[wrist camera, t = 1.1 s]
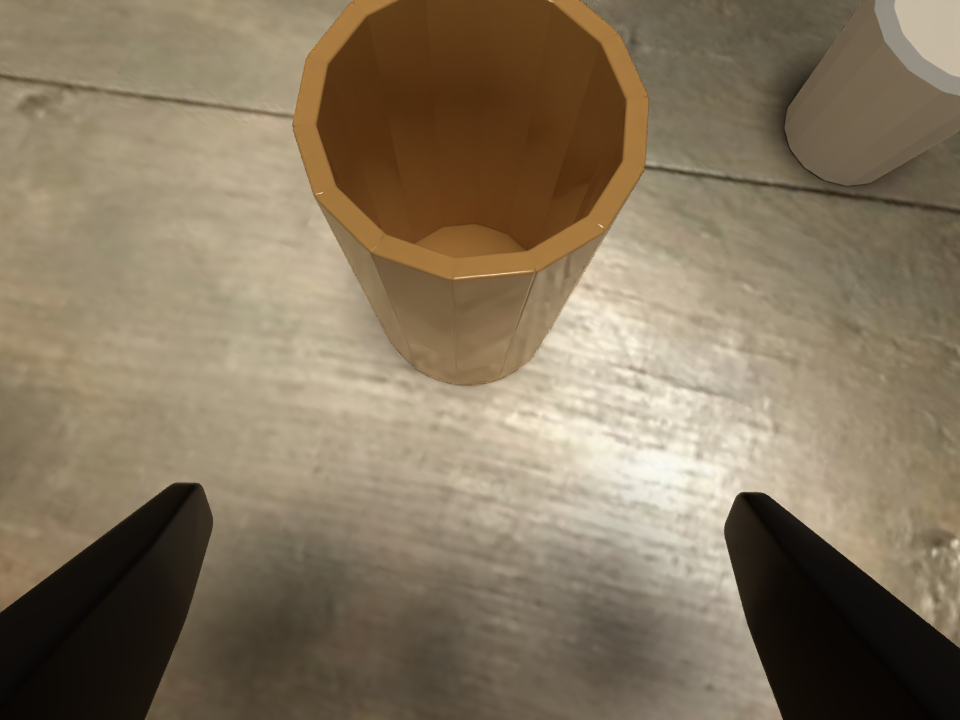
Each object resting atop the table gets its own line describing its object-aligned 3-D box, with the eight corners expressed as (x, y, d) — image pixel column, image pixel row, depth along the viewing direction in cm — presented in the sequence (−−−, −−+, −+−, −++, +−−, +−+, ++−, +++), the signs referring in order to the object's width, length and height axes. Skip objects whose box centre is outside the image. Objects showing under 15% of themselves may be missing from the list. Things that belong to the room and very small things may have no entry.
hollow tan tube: (523, 410, 24) (593, 330, 11) (354, 351, 24) (233, 206, 11) (575, 254, 25) (690, 24, 12) (416, 200, 25) (370, -77, 13)
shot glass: (747, 91, 27) (843, -40, 20) (873, 53, 28) (1006, -85, 21) (809, 216, 26) (934, 122, 19) (939, 174, 27) (1104, 68, 20)
